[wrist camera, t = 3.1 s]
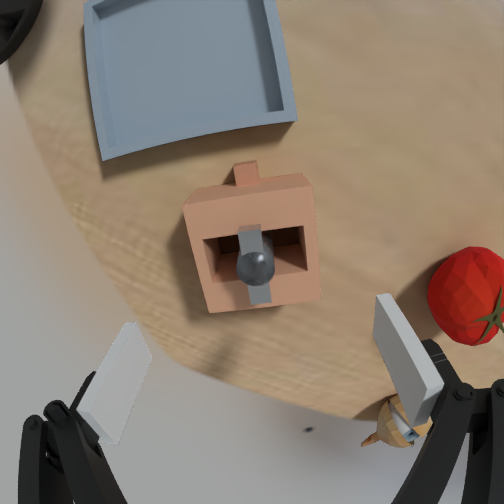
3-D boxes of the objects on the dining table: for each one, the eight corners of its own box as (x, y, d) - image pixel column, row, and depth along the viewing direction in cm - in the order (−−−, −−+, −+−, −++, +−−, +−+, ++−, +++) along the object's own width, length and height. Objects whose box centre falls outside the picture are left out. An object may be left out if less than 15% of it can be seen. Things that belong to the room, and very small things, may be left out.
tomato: (471, 310, 33) (507, 355, 24) (403, 311, 33) (437, 367, 24) (498, 238, 29) (547, 273, 19) (429, 226, 28) (483, 268, 19)
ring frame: (217, 280, 32) (209, 313, 26) (193, 171, 27) (176, 182, 22) (311, 268, 31) (321, 299, 25) (299, 154, 26) (309, 161, 21)
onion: (457, 417, 32) (385, 478, 33) (430, 390, 41) (367, 445, 42) (440, 392, 31) (358, 462, 32) (410, 364, 40) (341, 425, 41)
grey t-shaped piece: (247, 259, 31) (243, 305, 23) (237, 203, 28) (228, 233, 21) (275, 255, 30) (279, 301, 23) (266, 198, 28) (269, 228, 20)
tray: (113, 157, 26) (102, 161, 24) (94, 9, 19) (83, 3, 17) (294, 121, 25) (297, 120, 23) (262, -37, 18) (262, -49, 16)
